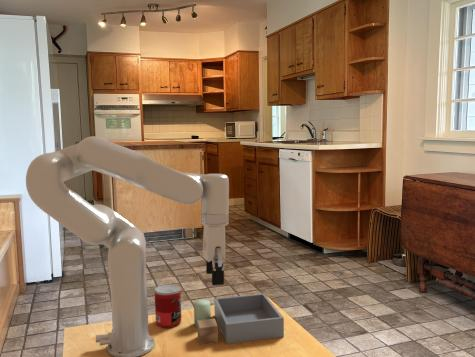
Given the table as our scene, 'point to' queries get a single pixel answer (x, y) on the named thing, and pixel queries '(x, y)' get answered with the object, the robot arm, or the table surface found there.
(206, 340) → the cube
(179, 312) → the canned food
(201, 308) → the cylinder
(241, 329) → the tote
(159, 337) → the table surface
